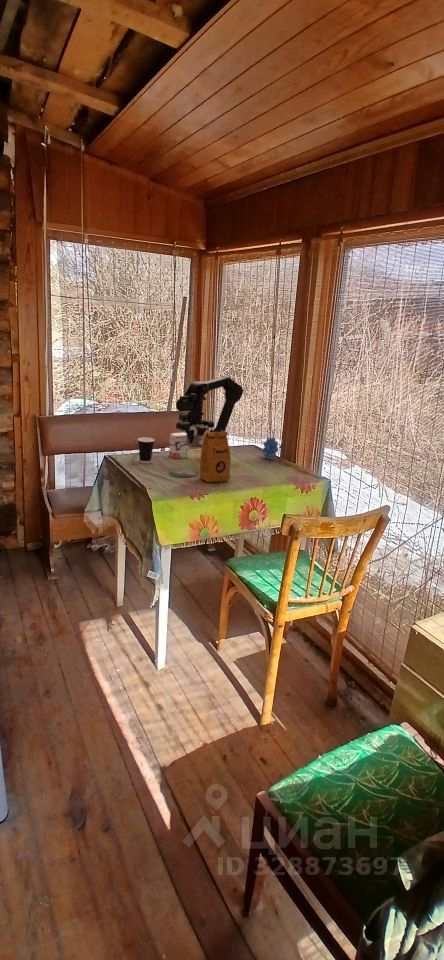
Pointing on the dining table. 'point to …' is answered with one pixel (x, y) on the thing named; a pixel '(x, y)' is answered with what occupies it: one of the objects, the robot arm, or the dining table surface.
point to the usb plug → (195, 440)
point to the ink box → (178, 445)
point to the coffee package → (215, 457)
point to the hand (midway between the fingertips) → (194, 442)
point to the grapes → (270, 448)
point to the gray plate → (182, 472)
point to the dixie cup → (145, 449)
